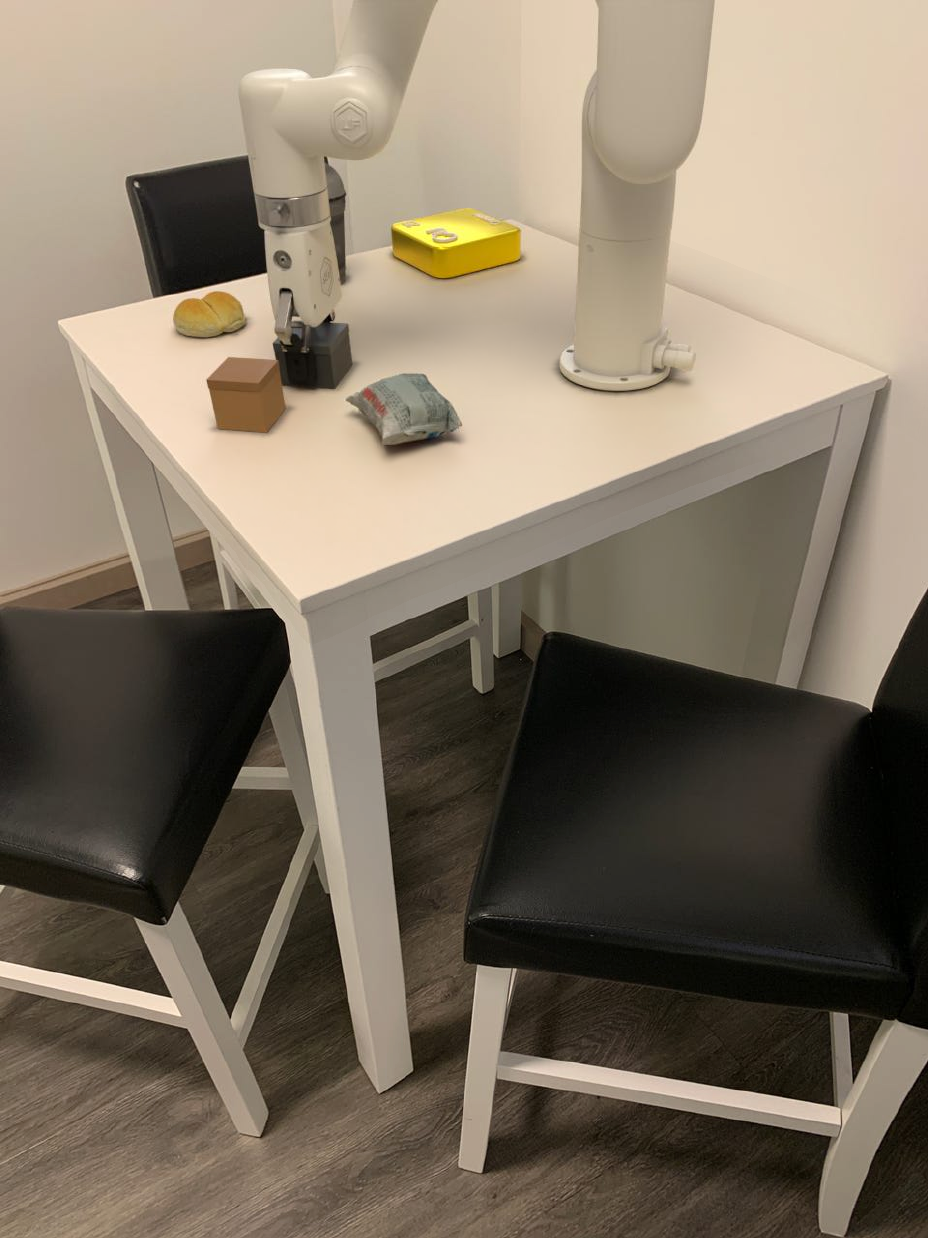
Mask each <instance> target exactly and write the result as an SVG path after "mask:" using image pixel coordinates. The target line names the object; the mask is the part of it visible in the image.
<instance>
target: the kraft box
mask: <svg viewBox="0 0 928 1238" xmlns="http://www.w3.org/2000/svg"><path fill="white" fill-rule="evenodd" d="M279 369H280V366H279V360H276V359H266V358H250V357H249V358H248V357H236V356H235V357H234V356H227V358H226V359H225V360H223V362H222V363H221V364H219V366H218V367H217V368H216V369H215V370H214V371H213V372H212V373H211V374H210V375H209V376H208V377H207V378H206V380H205V381H206V386H207V389H208V392H209V395H210V400H211V404H212V410H213V415H214V419H215V423H216V428H217V429H218V430H227V431H240V432H241V431H242V432H253V433H265V434H266V433H269V431H270V430H271V428H272V427H273V426H274V425H275V423H276V422H277V420H278V419H279V418H280V417H281V416H282V415H283V413H284V412H285V410H286V409H287V408H286V401H285V396H284V389H283V385H282V383H281V377H280V371H279Z"/></svg>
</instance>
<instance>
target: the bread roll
mask: <svg viewBox="0 0 928 1238" xmlns="http://www.w3.org/2000/svg"><path fill="white" fill-rule="evenodd" d="M242 305H243V304H242V303H241V301H240V300H238V299H237V298H236V296H234V295H233V294H231V293H229V292H225V291H221V290H220V291H218V290H217V291H210V292H209V293H206V294H205V295H204V296H203V297H202V298H197V297H191V298H190V297H189V298H186V299H183V300H182V301H181V302H179V303H178V304H177V305H176V307H175V310H174V311H173V317H172V322H173V325H174V328H175V329H176V331H178V333H180V334H182V335H184V336H187V337H188V336H189V337H193V338H194V337H195V338H213V337H218V336H220V335H221V334H222V333H233V332H235V331H238V330H240V329H241V328H242V327H243V326H244V325H245V324H246V322H247V319H248V318H247V316H246V315H245V313H244V308H243V306H242Z"/></svg>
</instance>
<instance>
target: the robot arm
mask: <svg viewBox="0 0 928 1238" xmlns="http://www.w3.org/2000/svg"><path fill="white" fill-rule="evenodd" d="M438 1H439V0H352V4H351V8H350V12H349V17H348V20H347V23H346V28H345V31H344V35H343V37H342V41H341V44H340V49H339V52H338V56H337V59H336V62H335V64H334V65H335V66H334V68H333V72H332V73H331V74H330V75H327V76H323V77H315V78H313V77H312V76H311V75H310V74H309V73H307V72H306V71H304V70H301V69H296V68H286V67H285V68H284V67H282V68H279V67H278V68H265V69H260V70H255V71H254V70H253V71H251V72H248V73H247V74H245V75H244V76H243V77H241V79H240V81H239V84H238V99H239V106H240V107H239V108H240V113H241V118H242V126H243V133H244V139H245V146H246V152H247V158H248V164H249V170H250V177H251V182H252V183H251V184H252V190H253V197H254V204H255V210H256V215H257V216H256V217H257V222H258V226H259V228H260V229H262V230H264V232H263V234H264V250H265V263H266V274H267V275H266V276H267V282H268V291H269V298H270V299H269V300H270V304H271V308H272V309H271V311H272V314H273V319H274V321H275V323H274V334H275V335H276V337H277V338H279V340H280V343H281V345H282V350H283V352H284V354H285V361H286V367H287V374H288V380H289V382H290V383H291V384H299V385H315V384H316V382H317V377H316V369H315V362H314V354H313V350H309V342H310V326H311V327H317V326H318V325H320V324H321V323H322V322H329V323H335V320H336V312H335V308H336V306H338V304H339V303H340V301H341V299H342V293H343V292H342V284H341V283H340V276H339V269H338V263H337V257H336V250H335V244H334V239H333V234H332V230H331V226H330V221H331V216H330V208H329V199H328V190H327V182H326V173H325V164H324V163H325V158H326V157H327V158H332V159H339V160H346V161H363V160H364V161H365V160H367V159H370V158H373V157H375V156H376V155H378V154H380V152H382V151H383V150H384V148H385V147H386V146H387V144H388V143H389V141H390V139H391V138H392V135H393V132H394V128H395V124H396V122H397V120H398V117H399V114H400V111H401V108H402V104H403V101H404V98H405V96H406V92H407V90H408V85H409V83H410V79H411V76H412V74H413V70H414V67H415V65H416V61H417V58H418V55H419V52H420V50H421V46H422V43H423V40H424V37H425V34H426V31H427V29H428V25H429V23H430V20H431V17H432V15H433V12H434V10H435V8H436V5H437V3H438ZM715 2H716V0H595V3H596V6H597V9H598V14H597V15H598V16H597V17H598V18H597V19H598V20H597V45H596V47H597V50H596V51H597V52H596V69H595V71H594V72H593V74H592V75H591V78H590V80H589V81H588V84H587V86H586V89H585V93H584V97H583V101H582V110H581V184H580V186H581V187H580V208H579V209H580V210H579V211H580V212H579V227H578V228H579V229H578V231H579V232H578V233H579V234H578V253H577V273H576V274H577V275H576V295H575V296H576V297H575V315H574V316H575V317H574V339H573V344H572V345H570V346H568V347H567V348H565V349H564V350H563V351H562V352H561V353H560V356H559V370H560V372H561V373H562V375H563V376H564V377H565V378H566V379H568V380H569V381H571V382H573V383H574V384H577V385H580V386H582V387H586V388H590V389H595V390H601V391H611V392H621V391H636V390H640V389H645V388H648V387H652V386H654V385H657V384H658V383H661V382H662V381H664V380H665V379H666V378H667V377H668V376H669V374H670V372H671V367H672V368H674V369H677V370H684V371H689V372H693V370H694V367H695V364H696V359H697V358H696V357H697V354H696V352H691V350H692V345H691V344H684V343H675V342H672V341H671V340H672V339H668V333H669V328H668V327H666V326H662V322H663V321H662V320H663V311H664V303H665V292H666V291H665V290H666V282H667V272H668V263H669V255H670V254H669V253H670V245H671V237H672V236H671V235H672V228H673V219H674V209H675V199H676V184H677V170H678V169H680V167H682V166H683V164H684V163H685V162H686V161H687V160H688V159H689V157H690V155H691V153H692V151H693V150H694V147H695V145H696V143H697V140H698V137H699V134H700V130H701V125H702V120H703V114H704V106H705V98H706V88H707V80H708V69H709V62H710V52H711V41H712V32H713V24H714V23H713V21H714V14H715V12H714V11H715ZM294 317H295V318H300V321H302V322H293V321H294V320H293V318H294ZM291 328H299V329H302V332H301V339H300V338H299V336H298V335H297V334H293V331H292V329H291Z"/></svg>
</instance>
